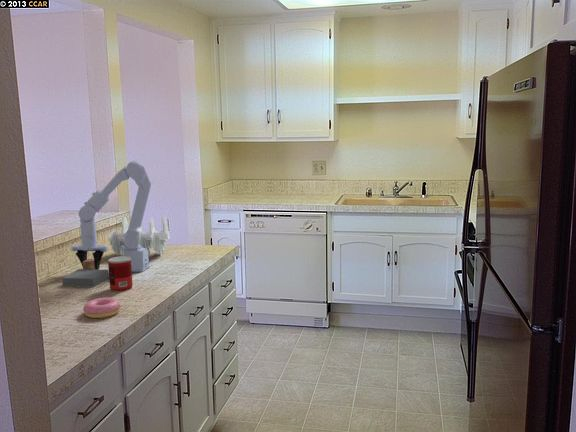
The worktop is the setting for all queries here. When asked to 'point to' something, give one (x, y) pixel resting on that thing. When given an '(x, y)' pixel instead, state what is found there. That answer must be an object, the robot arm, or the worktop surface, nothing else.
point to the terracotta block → (89, 264)
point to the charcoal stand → (85, 277)
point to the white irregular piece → (142, 238)
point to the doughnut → (101, 307)
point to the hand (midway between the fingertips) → (91, 268)
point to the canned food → (120, 273)
